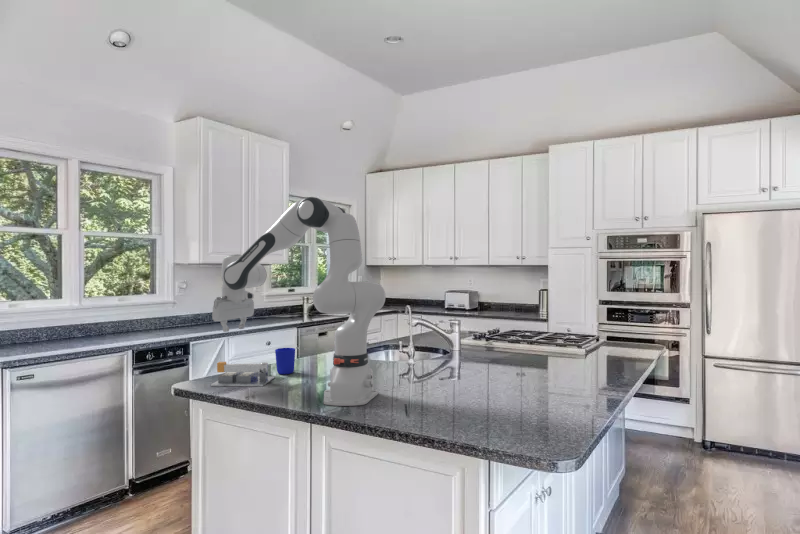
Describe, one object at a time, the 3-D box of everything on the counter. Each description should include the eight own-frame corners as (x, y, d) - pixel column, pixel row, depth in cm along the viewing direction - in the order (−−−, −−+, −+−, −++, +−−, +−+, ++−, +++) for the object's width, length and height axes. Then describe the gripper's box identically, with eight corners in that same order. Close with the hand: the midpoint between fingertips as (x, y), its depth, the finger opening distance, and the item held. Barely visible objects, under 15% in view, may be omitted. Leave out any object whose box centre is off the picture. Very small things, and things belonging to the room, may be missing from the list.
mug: (300, 369, 222) (300, 346, 222) (292, 375, 210) (291, 350, 210) (282, 369, 223) (281, 346, 223) (272, 375, 211) (272, 350, 211)
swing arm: (266, 372, 197) (266, 363, 197) (216, 372, 198) (216, 363, 198) (268, 370, 200) (268, 361, 200) (220, 370, 201) (220, 361, 201)
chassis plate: (262, 386, 192) (262, 376, 191) (210, 386, 193) (210, 376, 193) (274, 377, 205) (274, 368, 205) (225, 377, 207) (225, 368, 207)
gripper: (220, 297, 194) (221, 334, 194) (256, 294, 212) (257, 327, 212) (207, 297, 196) (208, 333, 196) (244, 293, 215) (244, 326, 215)
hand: (234, 330), depth 205 cm, fingers open, 7 cm apart
